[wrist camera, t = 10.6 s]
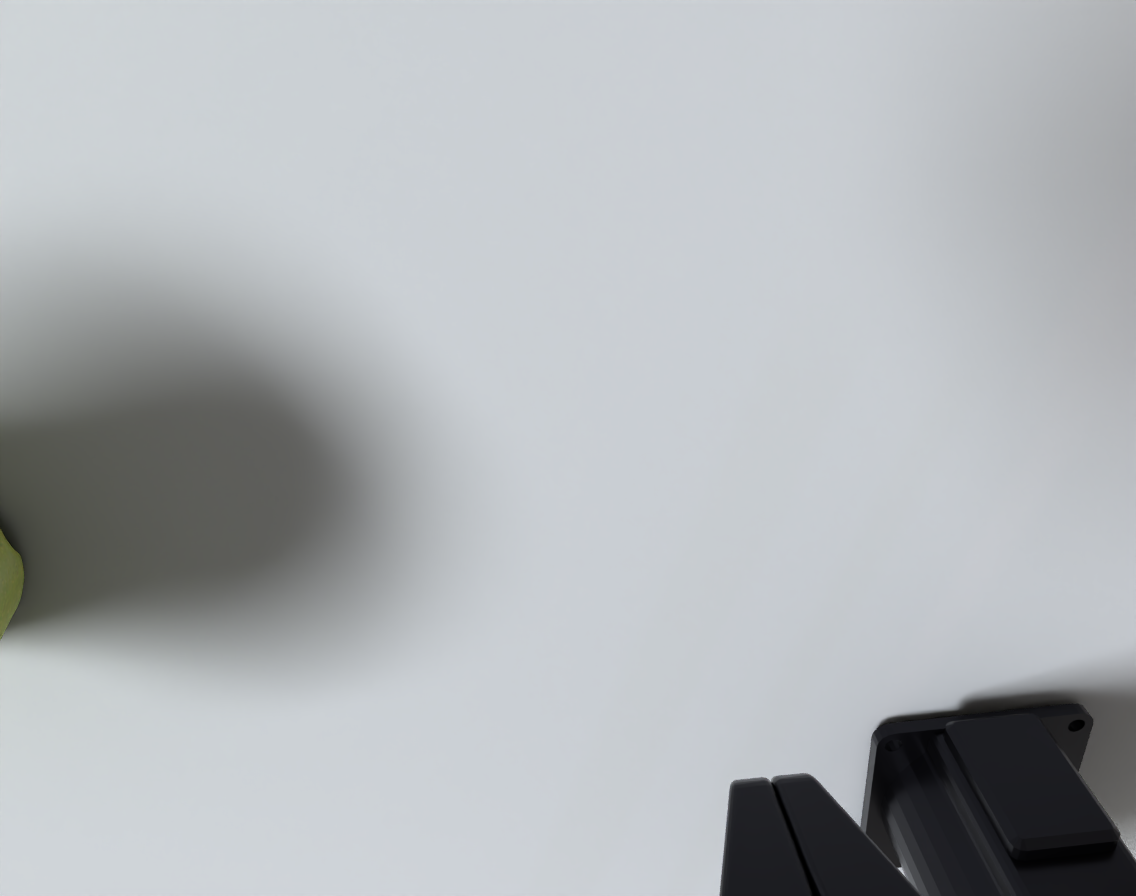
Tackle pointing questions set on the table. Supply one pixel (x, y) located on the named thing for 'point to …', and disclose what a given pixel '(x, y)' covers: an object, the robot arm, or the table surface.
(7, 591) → the plant pot
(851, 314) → the table surface
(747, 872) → the robot arm
